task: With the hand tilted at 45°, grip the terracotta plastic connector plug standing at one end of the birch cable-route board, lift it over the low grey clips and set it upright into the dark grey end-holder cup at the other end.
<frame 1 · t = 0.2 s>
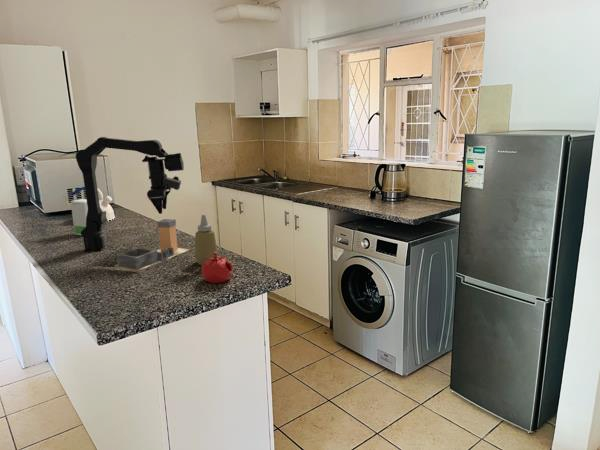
hand: (162, 211, 181), 14 cm above the worktop, tool pointing down, fingers open, 9 cm apart
pomegranate: (217, 280, 144), on the worktop
plug: (169, 251, 173), point 1 cm above the worktop, touching route board
skincare box: (87, 234, 207), on the worktop
route board: (154, 259, 166), on the worktop
kettle: (94, 220, 235), on the worktop
squeeze bottle: (207, 265, 159), on the worktop
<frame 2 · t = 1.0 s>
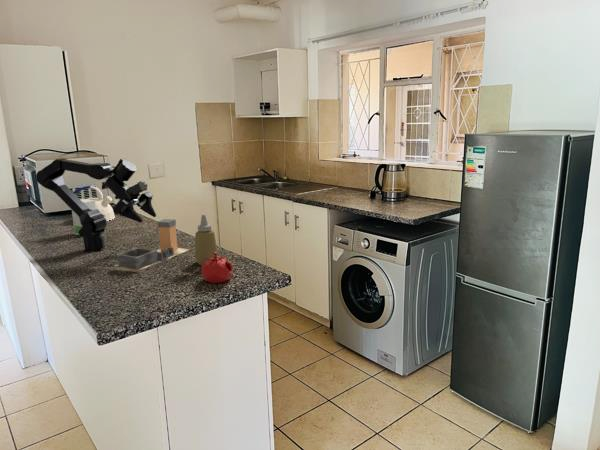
hand: (148, 219, 172), 13 cm above the worktop, tool tilted 45°, fingers open, 9 cm apart
nothing on the worktop moved.
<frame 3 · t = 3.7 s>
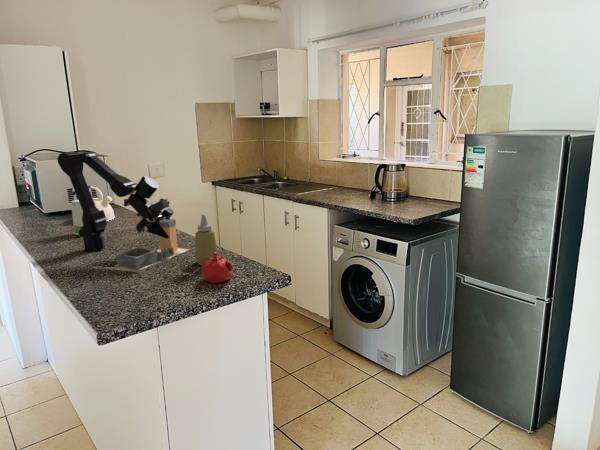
hand: (171, 236, 171), 7 cm above the worktop, tool tilted 45°, fingers closed on plug, 4 cm apart
plug: (169, 251, 173), point 1 cm above the worktop, touching gripper, route board
everything else where it was.
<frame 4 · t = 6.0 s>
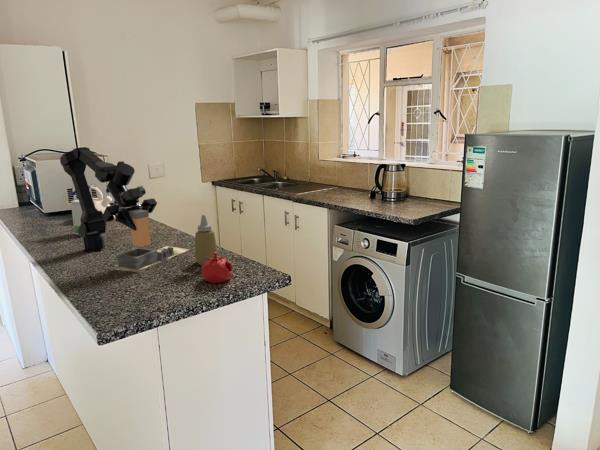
hand: (142, 228, 157), 13 cm above the worktop, tool tilted 45°, fingers closed on plug, 4 cm apart
plug: (141, 244, 159), point 7 cm above the worktop, touching gripper
everything else where it was.
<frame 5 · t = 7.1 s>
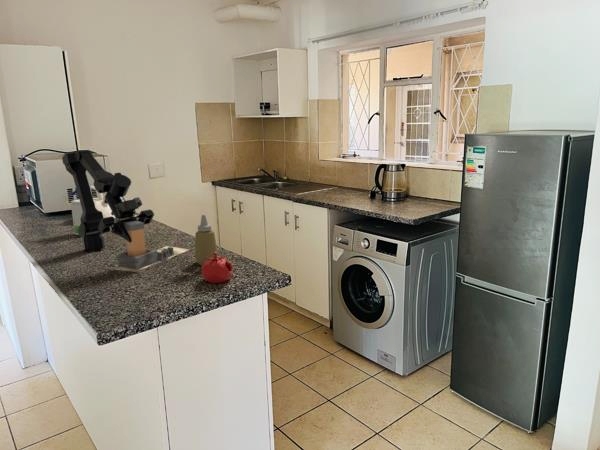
hand: (137, 240, 156), 10 cm above the worktop, tool tilted 45°, fingers closed on plug, 4 cm apart
plug: (137, 256, 158), point 4 cm above the worktop, touching gripper
everything else where it was.
when the fingers open (8 cm above the worktop, at t = 8.1 s): plug drops 1 cm, resting on route board.
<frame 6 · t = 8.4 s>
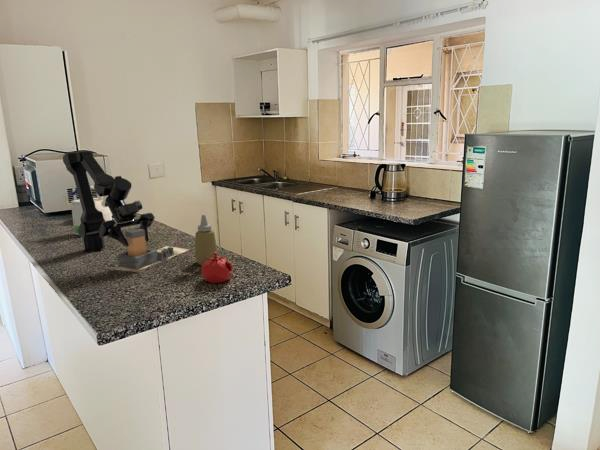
hand: (138, 243, 156), 9 cm above the worktop, tool tilted 45°, fingers open, 7 cm apart
plug: (138, 263, 159), point 1 cm above the worktop, touching route board
everything else where it was.
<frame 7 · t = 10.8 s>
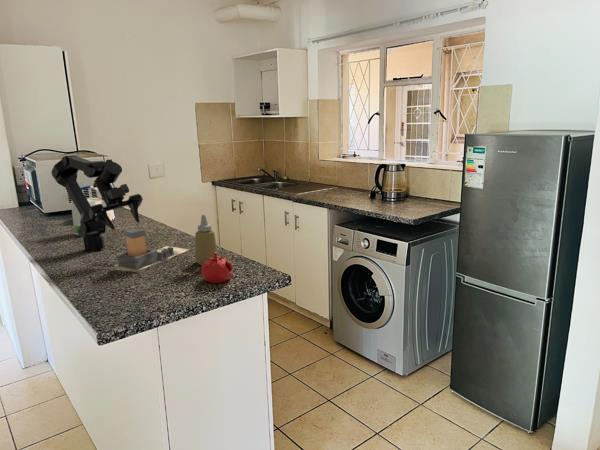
hand: (126, 225, 163), 13 cm above the worktop, tool tilted 40°, fingers open, 9 cm apart
nothing on the worktop moved.
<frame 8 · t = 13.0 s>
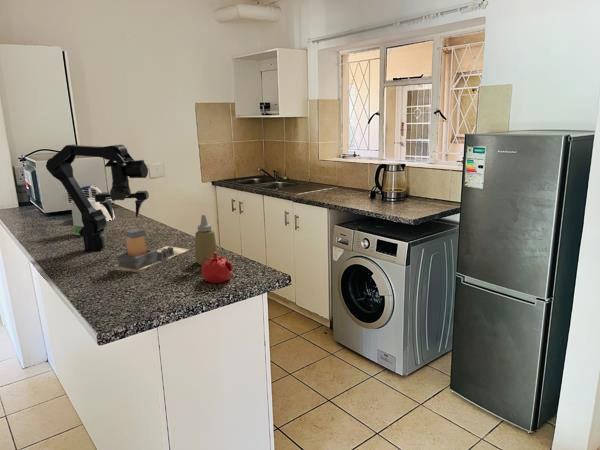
hand: (124, 218, 176), 13 cm above the worktop, tool pointing down, fingers open, 9 cm apart
nothing on the worktop moved.
at the end: plug 0.0 cm from the target spot on the route board, point 1.0 cm above the route board's base; plug tilted 0°; the gripper is holding nothing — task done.
